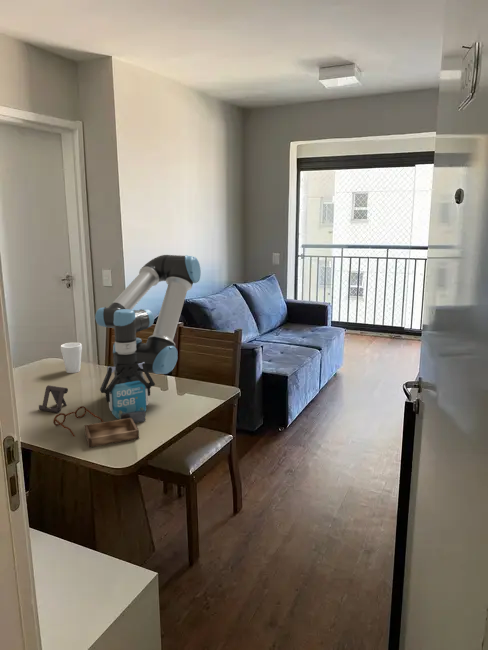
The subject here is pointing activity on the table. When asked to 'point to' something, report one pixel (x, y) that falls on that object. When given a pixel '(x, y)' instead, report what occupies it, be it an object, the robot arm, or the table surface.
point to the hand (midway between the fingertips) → (128, 406)
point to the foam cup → (72, 356)
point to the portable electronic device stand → (58, 396)
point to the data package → (128, 397)
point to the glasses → (75, 416)
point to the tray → (111, 432)
